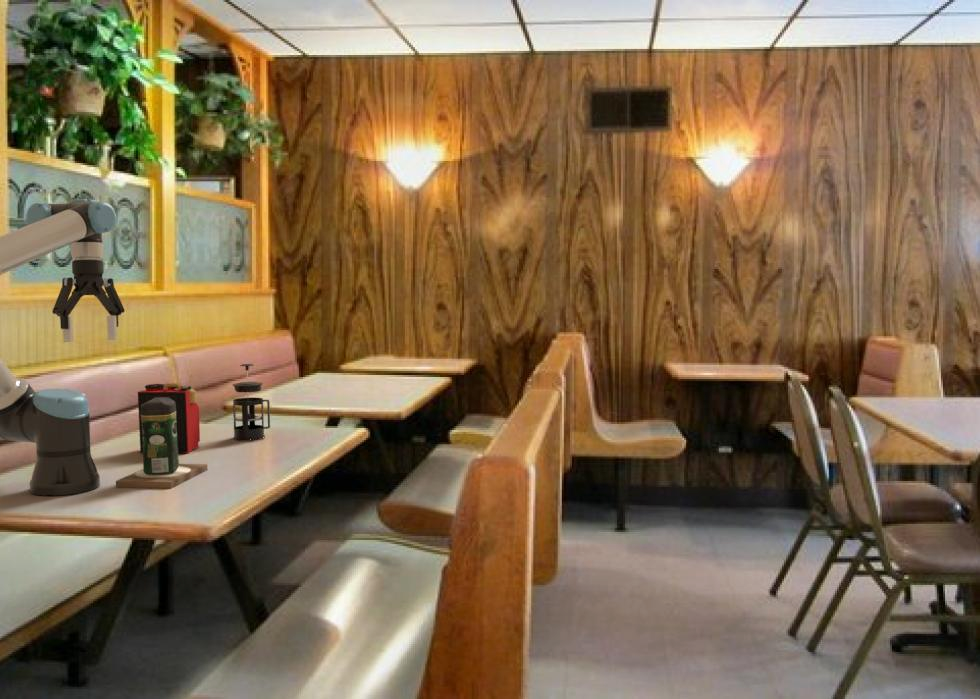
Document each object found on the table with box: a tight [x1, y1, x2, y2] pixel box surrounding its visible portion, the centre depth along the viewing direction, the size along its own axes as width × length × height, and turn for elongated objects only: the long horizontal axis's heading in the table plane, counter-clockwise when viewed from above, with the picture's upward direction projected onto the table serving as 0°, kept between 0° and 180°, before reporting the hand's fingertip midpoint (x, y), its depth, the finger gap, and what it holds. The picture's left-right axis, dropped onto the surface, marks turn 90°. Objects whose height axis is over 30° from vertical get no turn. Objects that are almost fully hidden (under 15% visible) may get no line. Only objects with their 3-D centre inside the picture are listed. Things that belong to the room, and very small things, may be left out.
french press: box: [232, 363, 271, 441], centre depth 280 cm, size 12×9×23 cm
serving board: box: [115, 463, 208, 489], centre depth 227 cm, size 20×14×2 cm
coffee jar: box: [141, 397, 180, 475], centre depth 226 cm, size 10×8×19 cm
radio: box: [137, 382, 201, 454], centre depth 262 cm, size 16×10×20 cm, turn 84°
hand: (91, 341), depth 238 cm, fingers open, 13 cm apart
